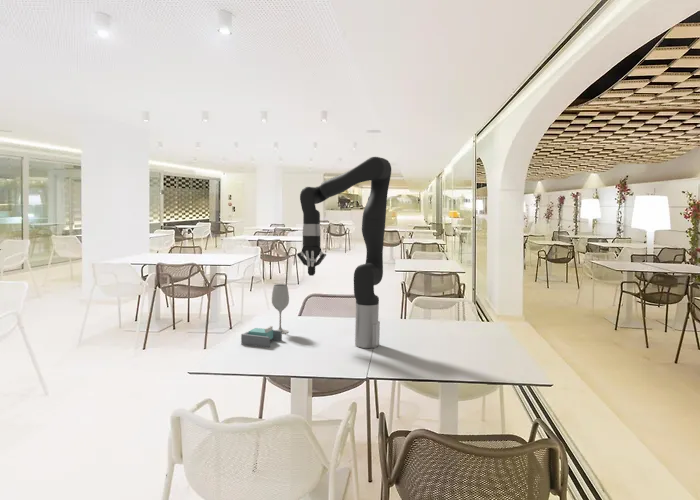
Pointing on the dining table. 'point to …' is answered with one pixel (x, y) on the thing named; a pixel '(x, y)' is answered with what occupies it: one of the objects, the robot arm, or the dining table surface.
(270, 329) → the teal box with handle
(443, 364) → the dining table surface
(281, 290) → the wineglass
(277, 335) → the bay
